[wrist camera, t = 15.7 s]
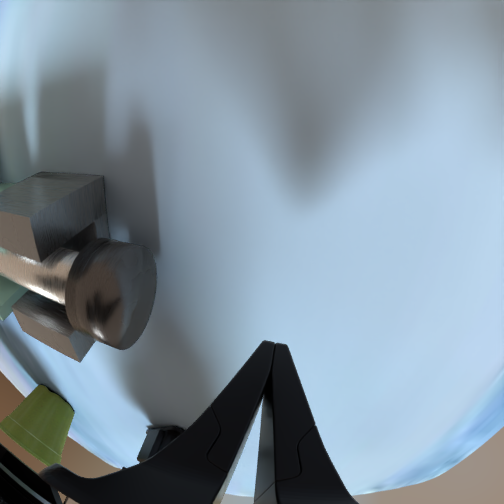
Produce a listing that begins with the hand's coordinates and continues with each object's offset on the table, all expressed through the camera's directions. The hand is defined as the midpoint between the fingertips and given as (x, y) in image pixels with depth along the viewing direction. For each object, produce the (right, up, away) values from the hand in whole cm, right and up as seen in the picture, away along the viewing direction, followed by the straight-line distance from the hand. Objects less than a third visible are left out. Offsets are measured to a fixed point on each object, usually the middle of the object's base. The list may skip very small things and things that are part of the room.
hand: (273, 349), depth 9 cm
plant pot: (-31, -19, +22) cm, 43 cm away
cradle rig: (-16, +5, +5) cm, 17 cm away
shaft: (-13, +4, +4) cm, 14 cm away
